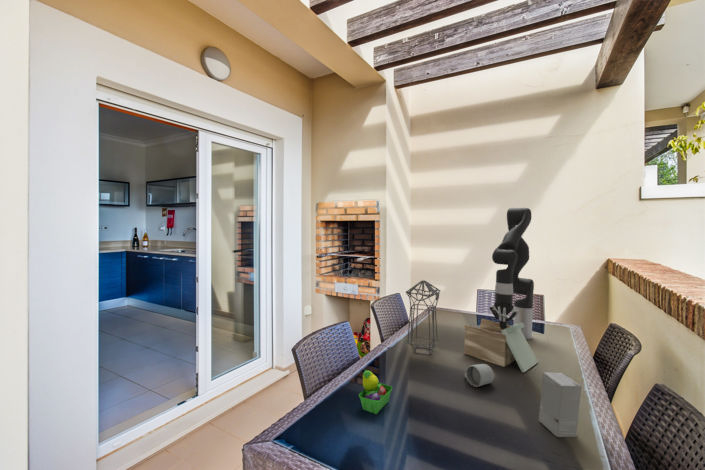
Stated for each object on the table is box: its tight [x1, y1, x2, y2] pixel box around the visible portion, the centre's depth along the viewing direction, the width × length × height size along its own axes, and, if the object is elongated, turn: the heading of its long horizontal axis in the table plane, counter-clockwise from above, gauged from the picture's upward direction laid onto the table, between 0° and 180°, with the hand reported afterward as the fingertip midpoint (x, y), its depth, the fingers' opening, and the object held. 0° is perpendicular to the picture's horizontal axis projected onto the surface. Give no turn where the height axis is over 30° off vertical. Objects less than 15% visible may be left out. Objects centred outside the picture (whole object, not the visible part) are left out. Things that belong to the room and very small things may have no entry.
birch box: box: [463, 318, 516, 368], centre depth 151 cm, size 17×19×14 cm
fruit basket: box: [358, 369, 393, 415], centre depth 107 cm, size 11×9×11 cm
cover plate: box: [501, 322, 539, 373], centre depth 140 cm, size 15×18×5 cm
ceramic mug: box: [464, 363, 495, 388], centre depth 124 cm, size 11×8×8 cm
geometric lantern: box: [405, 279, 441, 356], centre depth 155 cm, size 16×16×35 cm
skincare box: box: [538, 371, 582, 438], centre depth 95 cm, size 8×7×16 cm
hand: (503, 328), depth 147 cm, fingers closed
